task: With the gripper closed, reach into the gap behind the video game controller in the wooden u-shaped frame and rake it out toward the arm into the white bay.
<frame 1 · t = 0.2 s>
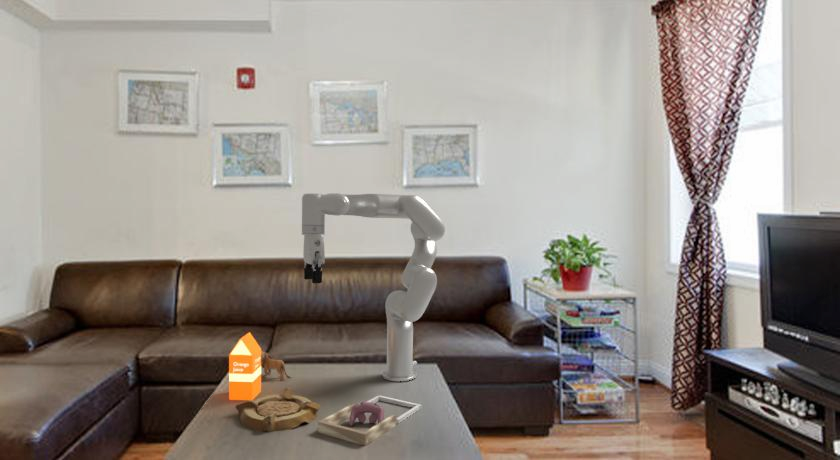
hand: (312, 281, 183), 37 cm above the table, tool pointing down, fingers open, 9 cm apart
ashtray: (277, 417, 162), on the table
orange juice: (245, 395, 179), on the table
wooden u-shaped frame: (356, 429, 153), on the table
video game controller: (366, 424, 157), on the table
lion figurine: (271, 377, 197), on the table
white bay: (387, 410, 167), on the table
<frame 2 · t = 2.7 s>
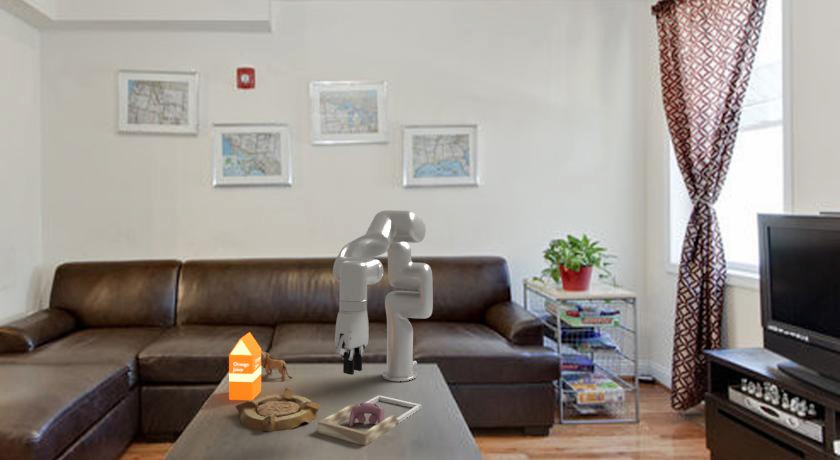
hand: (352, 371, 150), 17 cm above the table, tool pointing down, fingers open, 3 cm apart
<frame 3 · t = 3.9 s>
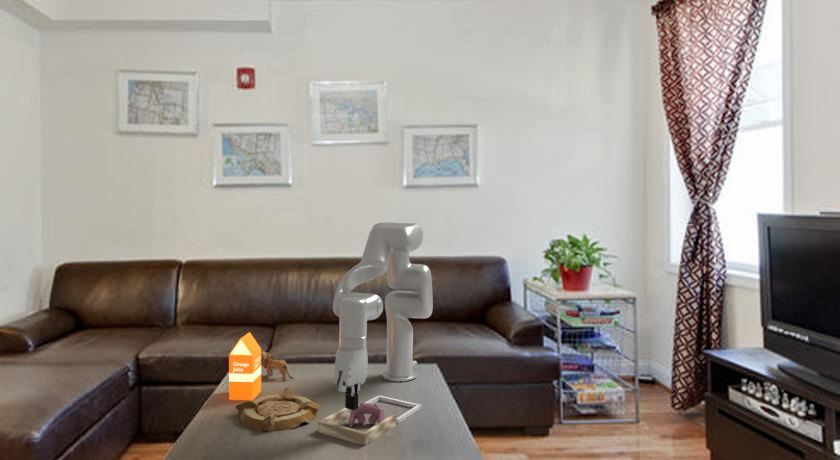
hand: (351, 408, 150), 7 cm above the table, tool pointing down, fingers closed
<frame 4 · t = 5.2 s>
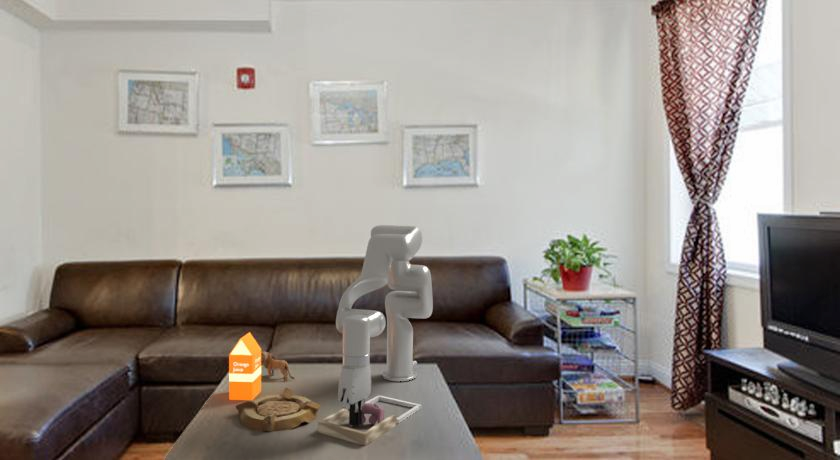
hand: (355, 424, 152), 2 cm above the table, tool pointing down, fingers closed
video game controller: (366, 425, 156), on the table, touching gripper
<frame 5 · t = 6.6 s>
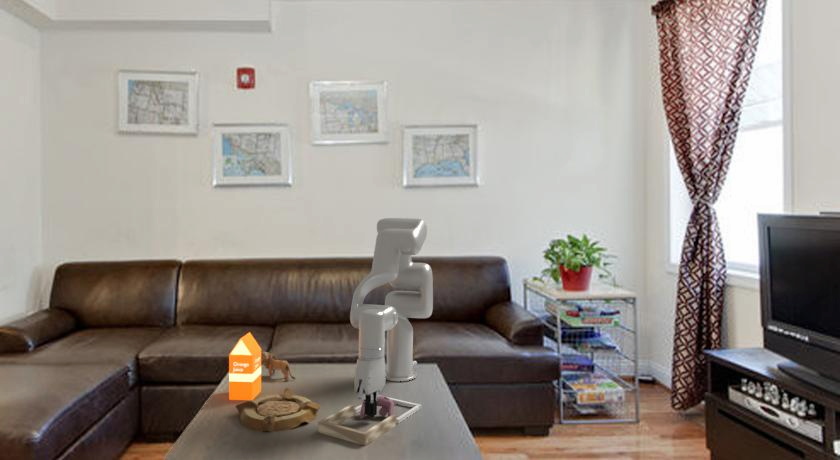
hand: (370, 414, 159), 2 cm above the table, tool pointing down, fingers closed
video game controller: (377, 417, 162), on the table, touching gripper
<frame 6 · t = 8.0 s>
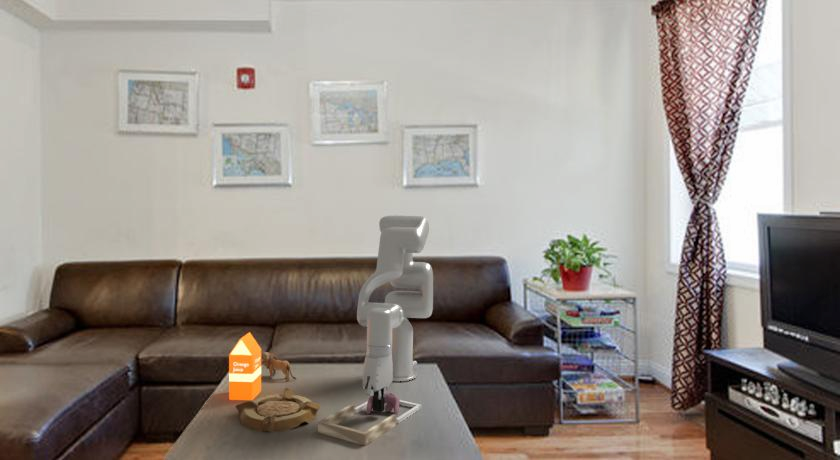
hand: (378, 410, 162), 2 cm above the table, tool pointing down, fingers closed
video game controller: (383, 413, 166), on the table
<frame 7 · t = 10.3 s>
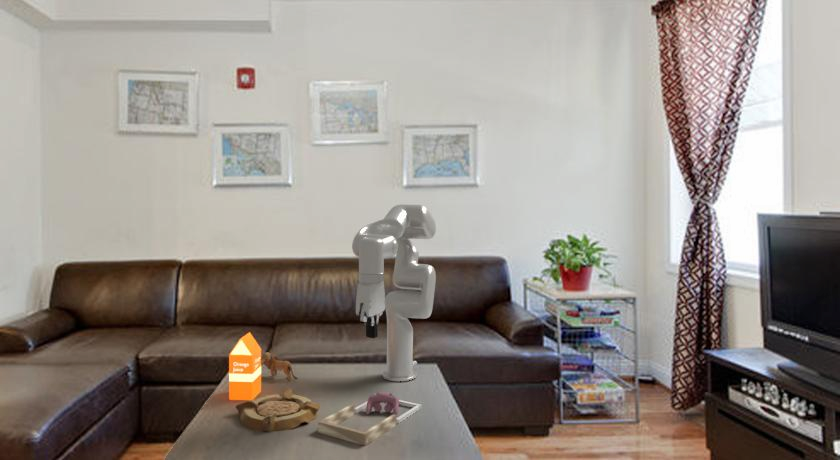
hand: (371, 336, 167), 23 cm above the table, tool pointing down, fingers closed
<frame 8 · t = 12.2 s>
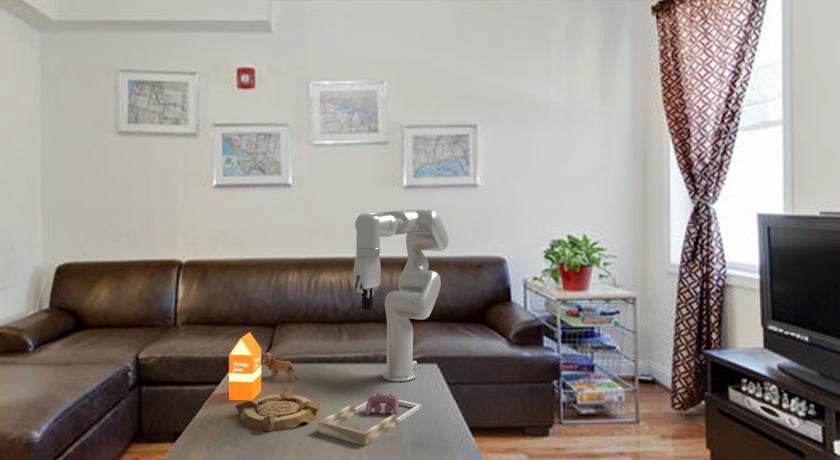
hand: (367, 309, 177), 29 cm above the table, tool pointing down, fingers closed
at the end: video game controller inside the target area (1.4 cm from its centre), on the table; video game controller tilted 0°; the gripper is holding nothing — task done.
